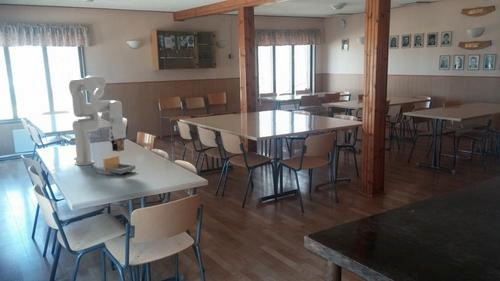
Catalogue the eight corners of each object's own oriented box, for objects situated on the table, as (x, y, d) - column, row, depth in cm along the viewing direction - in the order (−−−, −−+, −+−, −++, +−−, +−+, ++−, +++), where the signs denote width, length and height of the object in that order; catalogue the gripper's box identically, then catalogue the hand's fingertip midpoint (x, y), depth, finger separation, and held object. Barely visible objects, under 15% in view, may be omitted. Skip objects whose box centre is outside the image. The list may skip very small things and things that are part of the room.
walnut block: (118, 151, 255) (117, 140, 254) (112, 150, 257) (111, 140, 256) (124, 150, 260) (123, 139, 259) (118, 149, 262) (117, 138, 261)
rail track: (96, 172, 263) (96, 172, 262) (108, 169, 272) (108, 168, 272) (124, 176, 253) (124, 175, 253) (135, 172, 263) (135, 171, 263)
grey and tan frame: (104, 173, 258) (103, 159, 256) (118, 168, 270) (117, 155, 268) (121, 175, 252) (120, 161, 251) (135, 170, 264) (134, 157, 262)
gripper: (111, 122, 246) (113, 152, 249) (130, 119, 261) (132, 147, 265) (101, 122, 249) (103, 151, 252) (121, 119, 265) (123, 146, 268)
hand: (118, 148), depth 258 cm, fingers closed on walnut block, 5 cm apart
